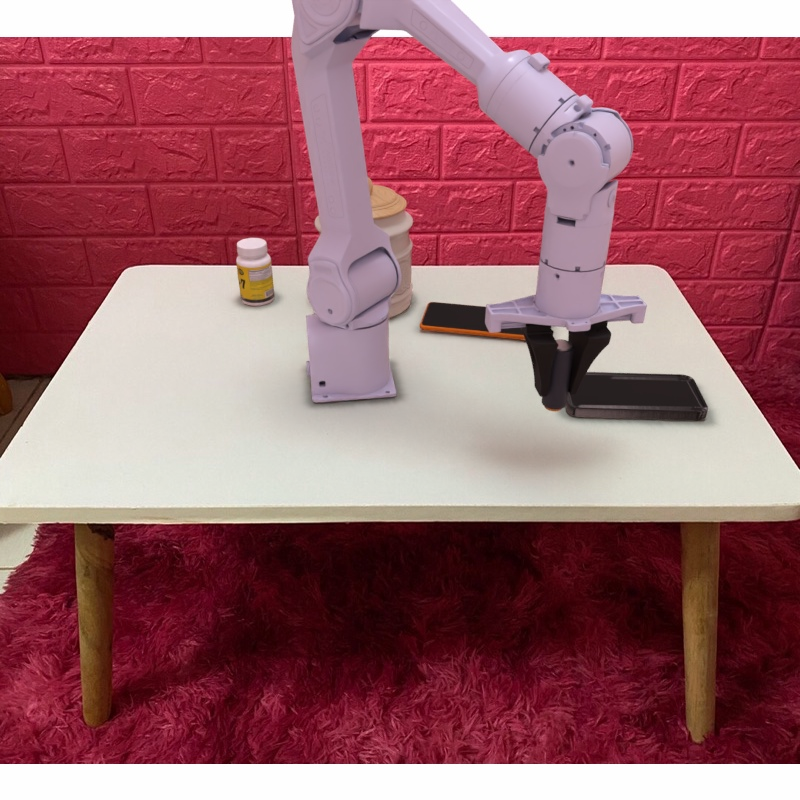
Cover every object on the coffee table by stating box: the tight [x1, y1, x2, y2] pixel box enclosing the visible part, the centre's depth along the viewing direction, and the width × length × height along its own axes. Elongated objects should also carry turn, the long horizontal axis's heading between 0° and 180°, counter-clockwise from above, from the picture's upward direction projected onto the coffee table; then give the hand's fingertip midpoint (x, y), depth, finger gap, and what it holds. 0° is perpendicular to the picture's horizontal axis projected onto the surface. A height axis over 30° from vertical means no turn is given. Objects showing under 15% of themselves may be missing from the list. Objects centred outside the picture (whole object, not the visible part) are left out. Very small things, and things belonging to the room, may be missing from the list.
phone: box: [565, 371, 709, 421], centre depth 86 cm, size 8×1×15 cm
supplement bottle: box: [235, 237, 276, 307], centre depth 106 cm, size 5×5×8 cm
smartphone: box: [419, 301, 526, 341], centre depth 102 cm, size 8×17×1 cm, turn 79°
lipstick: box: [541, 338, 574, 412], centre depth 74 cm, size 2×2×7 cm
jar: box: [313, 176, 414, 319], centre depth 103 cm, size 13×13×18 cm
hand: (555, 390), depth 75 cm, fingers closed on lipstick, 2 cm apart
